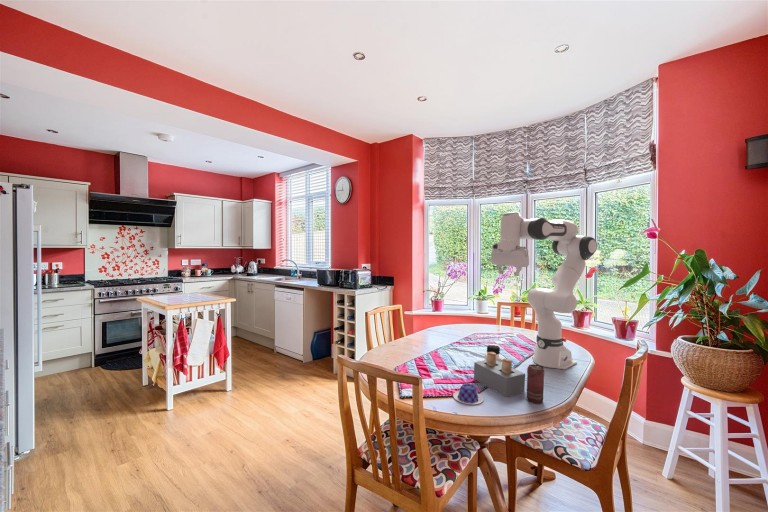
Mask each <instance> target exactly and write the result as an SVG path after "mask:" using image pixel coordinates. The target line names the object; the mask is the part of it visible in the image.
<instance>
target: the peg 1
mask: <svg viewBox="0 0 768 512" xmlns="http://www.w3.org/2000/svg"><path fill="white" fill-rule="evenodd" d="M486 353H487V365H488V366H490V367H494V366H496V353H494V352H487V351H486Z"/></svg>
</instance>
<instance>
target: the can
mask: <svg viewBox="0 0 768 512" xmlns="http://www.w3.org/2000/svg"><path fill="white" fill-rule="evenodd" d="M526 369H527V372H526V374H527V375H526V377H527V379H526V401H528V403H529V402H530V403H531V404H535V405H540V404H543V402H544V388H545V387H544V386H545V369H544V366H541V365H538V364H536V363H535V364H529V365H528V366H527V368H526Z"/></svg>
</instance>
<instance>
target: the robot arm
mask: <svg viewBox="0 0 768 512" xmlns="http://www.w3.org/2000/svg"><path fill="white" fill-rule="evenodd" d="M578 233H579V229H578V225H577V224H576V223H575V222H572V221H571V220H566V219H551V220H548V219H546V218H543V217H538V218H530V219H527V218H524V217H523V216H521V214H520V212H518V211H510V212H509V211H508V212H505V213H503V214H502V215H501V219H500V239H499V241H498V242H496V243H493V244H492V245H491V249H492V250H491V254H490V262H491V264H492V265H496V267H497V269H498V274H499V275H504V272H505V271H504V270H503V268H502V267H503V266H509V267H510V266H511V267H515V269H516V270H515V272H513V276H514V277H519V276H520V273H521V271H522V269H523V268H527V267H529V265H530V256H529V249H528V248H527V246H520V245H521V240H537V241H538V240H539V241H545V240H546V239H547V240H549V241H552V244H551V248H552V251H553V253H554V254H556V255H558V256H559V255H560V256H566V257H565V260H563V262H562V263H561V264H560V266H559V267H558V268H557V270H556V271H555V273H554V274H553V275H552V278H551V282H552V284H553V285H554V287H555V288H553V289H550V288H544V287H536V288H531V289H529V291H528V292H527V295H526V296H527V297H526V298H527V302H528V304H529V305H530V306H531V307H532V309H533V311H534V313H535V316H536V319H537V335H536V338H535V339H536V343H535V346H534V352H533V355H532V359H533V360H532V361H533V362H534V363H535V365H540V366H542V367H543V368H549V369H550V368H552V369H559V370H567V369H569V368H570V367H573V366H575V365H577V361H576V360H575V359H573V358H572V357H573V356H572V351H571V350H570V349H569V348H567V346H566V345H564V343H567V340H568V339H567V338H566V337H564V336H563V337H562V329H563V327H562V326H563V325H562V322H561V321H560V319H558V318H557V316H556V315H555V313H559V314H572V313H573V312H575V310H576V309H577V306H578V300H577V298H576V296H575V295H574V292H573V291H574V288H575V286H576V284H577V283H578V281H579V280H580V278H581V277H582V275H583V273H584V270H585V268H586V261H587V260H589V259H591V257H592V256H594V254H595V253H596V252H597V249H598V243H597V240H596V239H595V238H594V237H592V236H588V235H577V234H578ZM554 312H555V313H554Z"/></svg>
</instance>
